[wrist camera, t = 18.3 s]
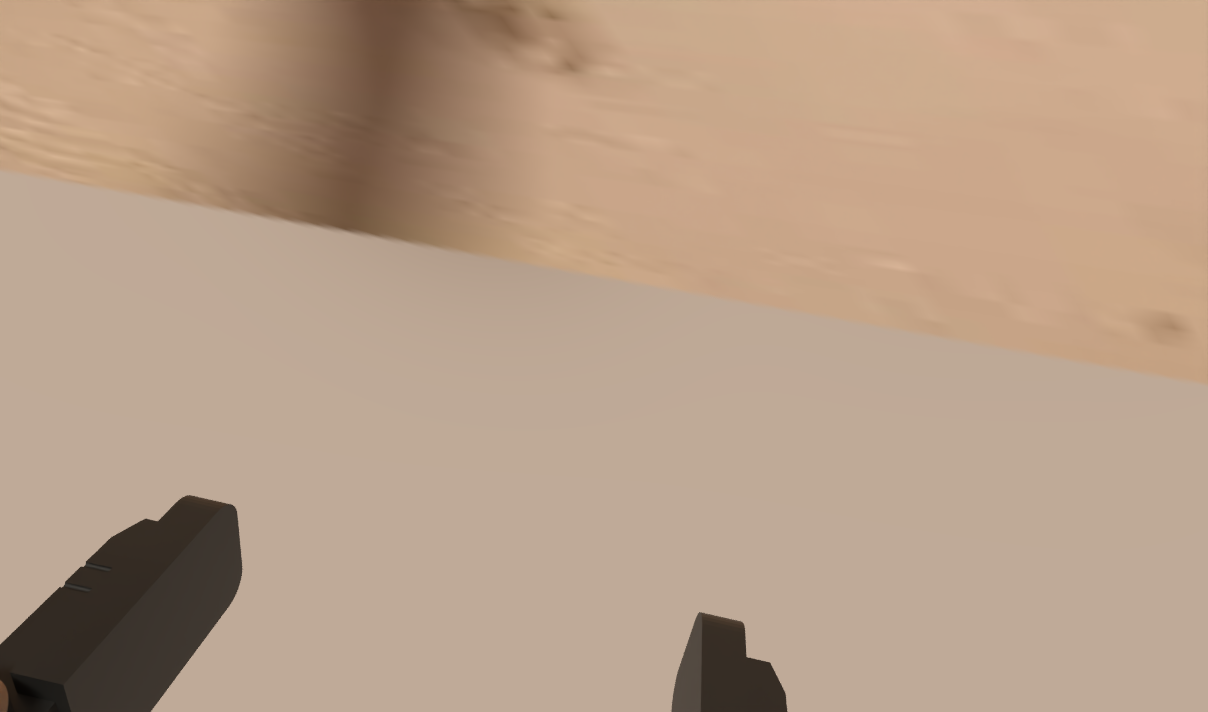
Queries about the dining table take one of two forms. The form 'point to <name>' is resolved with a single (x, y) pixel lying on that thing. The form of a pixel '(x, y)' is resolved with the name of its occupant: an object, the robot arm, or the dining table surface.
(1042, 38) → the dining table surface
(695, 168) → the dining table surface
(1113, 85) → the dining table surface
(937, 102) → the dining table surface
